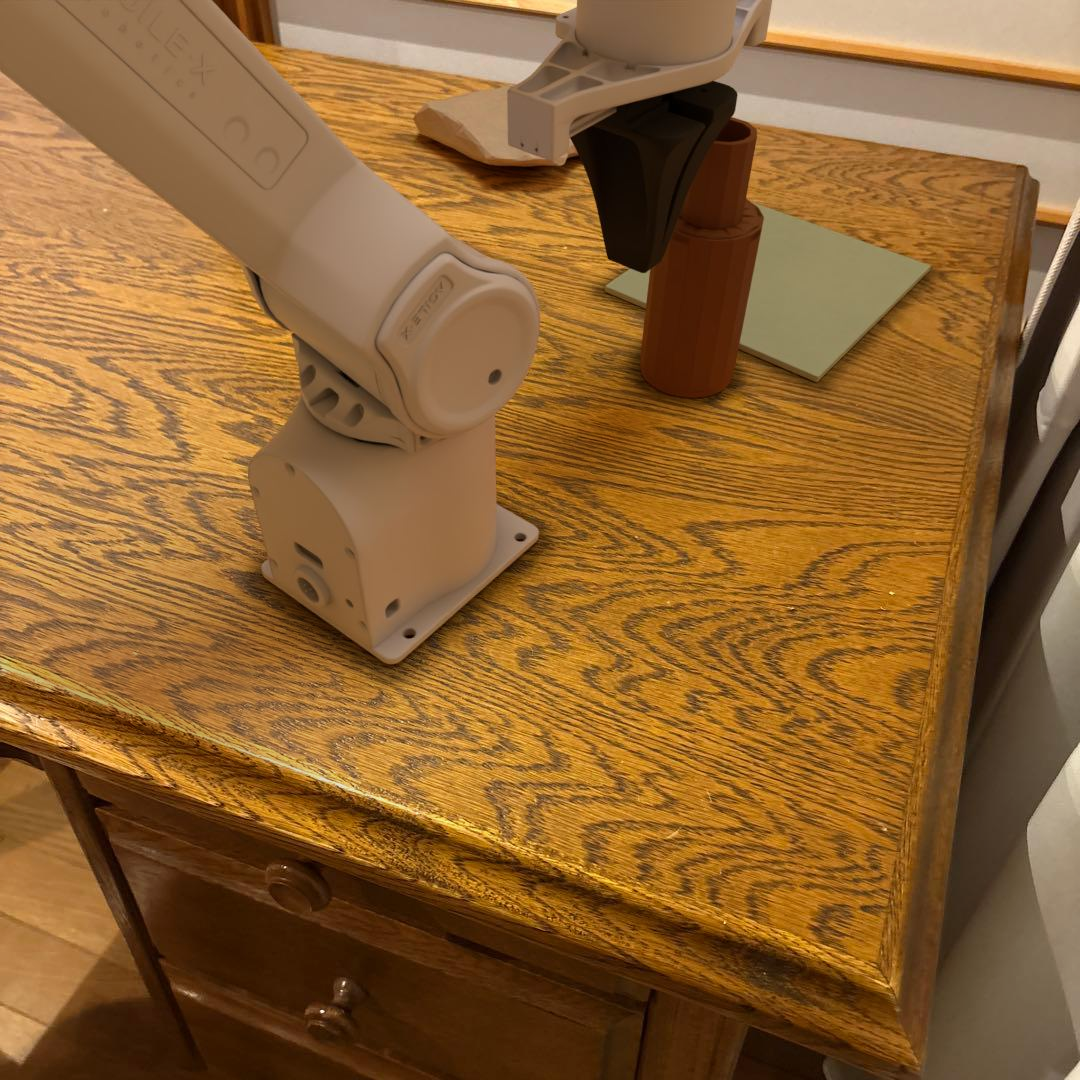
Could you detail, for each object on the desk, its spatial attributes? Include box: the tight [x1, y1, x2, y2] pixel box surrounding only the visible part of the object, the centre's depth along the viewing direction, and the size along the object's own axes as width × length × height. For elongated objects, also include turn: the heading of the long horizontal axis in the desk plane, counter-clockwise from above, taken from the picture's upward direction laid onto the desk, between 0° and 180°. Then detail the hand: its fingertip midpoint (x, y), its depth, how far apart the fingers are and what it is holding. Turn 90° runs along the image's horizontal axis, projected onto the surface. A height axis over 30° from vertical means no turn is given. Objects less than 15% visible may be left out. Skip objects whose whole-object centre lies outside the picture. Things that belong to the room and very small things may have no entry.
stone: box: [412, 83, 579, 168], centre depth 71 cm, size 14×4×15 cm
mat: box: [604, 200, 932, 383], centre depth 60 cm, size 15×14×1 cm
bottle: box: [639, 116, 764, 399], centre depth 49 cm, size 5×5×13 cm
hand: (633, 259), depth 43 cm, fingers closed
